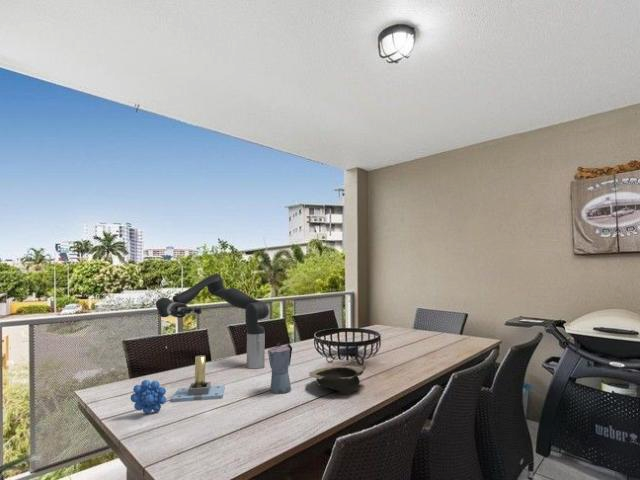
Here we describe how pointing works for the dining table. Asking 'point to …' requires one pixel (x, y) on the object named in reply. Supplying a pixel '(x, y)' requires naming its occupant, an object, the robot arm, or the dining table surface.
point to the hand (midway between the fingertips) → (192, 312)
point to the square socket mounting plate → (199, 393)
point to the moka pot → (280, 368)
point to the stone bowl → (339, 378)
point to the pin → (200, 371)
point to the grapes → (148, 396)
